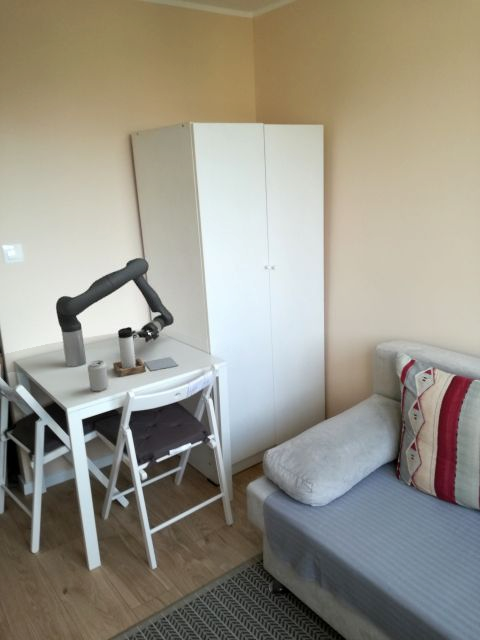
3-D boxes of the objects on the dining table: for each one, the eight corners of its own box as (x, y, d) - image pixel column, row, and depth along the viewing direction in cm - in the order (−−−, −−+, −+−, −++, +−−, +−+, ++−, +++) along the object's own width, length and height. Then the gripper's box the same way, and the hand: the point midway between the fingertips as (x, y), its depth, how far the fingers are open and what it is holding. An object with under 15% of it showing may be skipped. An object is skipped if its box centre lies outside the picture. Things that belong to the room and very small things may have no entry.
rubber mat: (151, 371, 233) (151, 370, 233) (144, 362, 245) (144, 361, 245) (178, 366, 238) (178, 365, 238) (170, 357, 250) (170, 356, 250)
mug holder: (118, 377, 228) (118, 371, 227) (113, 368, 239) (112, 362, 238) (146, 372, 233) (145, 365, 232) (139, 363, 244) (139, 357, 243)
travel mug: (139, 369, 237) (135, 327, 232) (129, 373, 232) (124, 331, 226) (129, 367, 240) (125, 326, 235) (119, 371, 235) (114, 330, 229)
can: (110, 390, 214) (106, 363, 211) (91, 393, 212) (87, 366, 209) (107, 384, 221) (104, 358, 218) (89, 387, 219) (86, 360, 215)
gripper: (137, 322, 259) (123, 331, 244) (163, 322, 256) (150, 332, 240) (139, 336, 261) (124, 346, 246) (165, 337, 258) (152, 347, 243)
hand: (137, 339), depth 243 cm, fingers open, 8 cm apart
